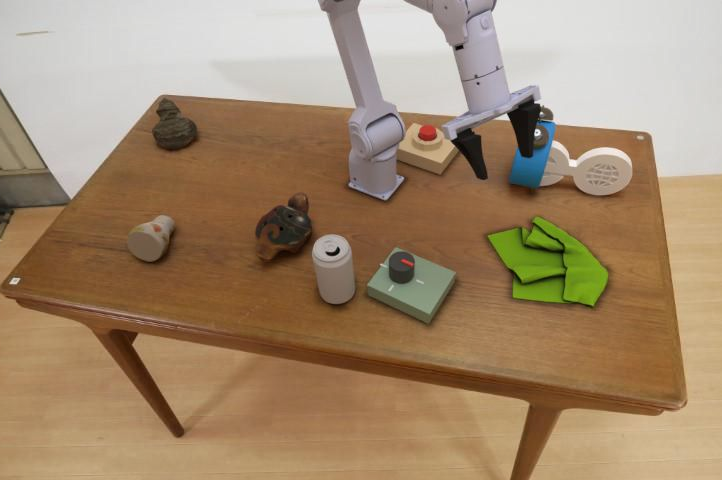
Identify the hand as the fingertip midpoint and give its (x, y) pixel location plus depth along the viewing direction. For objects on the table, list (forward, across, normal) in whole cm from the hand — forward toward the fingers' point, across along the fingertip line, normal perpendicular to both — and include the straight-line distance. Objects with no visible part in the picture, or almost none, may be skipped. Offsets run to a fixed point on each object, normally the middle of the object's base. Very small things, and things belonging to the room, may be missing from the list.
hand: (505, 167), depth 70 cm
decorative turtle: (+6, -33, +28) cm, 44 cm away
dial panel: (+18, -17, +11) cm, 27 cm away
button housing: (+4, +4, +40) cm, 41 cm away
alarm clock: (+15, +18, +26) cm, 35 cm away
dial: (+14, -18, +11) cm, 25 cm away
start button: (+1, +4, +38) cm, 38 cm away
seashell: (-16, -46, +65) cm, 81 cm away
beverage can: (+14, -29, +15) cm, 35 cm away
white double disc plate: (+18, +24, +22) cm, 37 cm away
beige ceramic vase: (-2, -56, +37) cm, 67 cm away
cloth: (+23, +8, +8) cm, 26 cm away
